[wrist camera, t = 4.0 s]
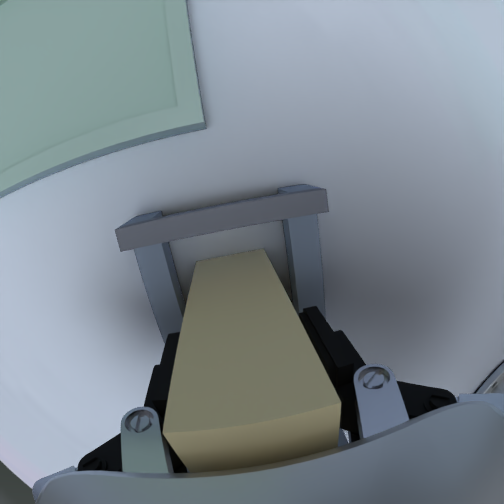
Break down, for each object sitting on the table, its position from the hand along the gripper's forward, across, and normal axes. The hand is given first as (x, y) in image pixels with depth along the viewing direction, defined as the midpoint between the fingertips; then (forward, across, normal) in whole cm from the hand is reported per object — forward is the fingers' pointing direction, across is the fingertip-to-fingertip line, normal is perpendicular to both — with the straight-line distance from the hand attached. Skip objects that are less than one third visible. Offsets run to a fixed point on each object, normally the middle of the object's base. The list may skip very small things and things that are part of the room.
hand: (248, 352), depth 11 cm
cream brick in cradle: (+2, 0, 0) cm, 2 cm away
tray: (+2, +8, -16) cm, 18 cm away
